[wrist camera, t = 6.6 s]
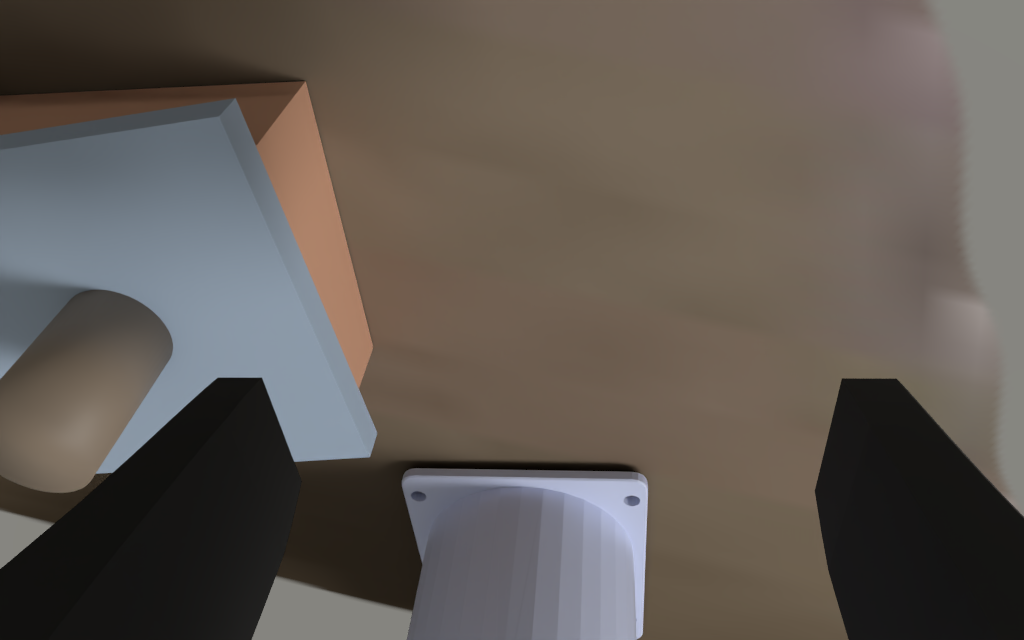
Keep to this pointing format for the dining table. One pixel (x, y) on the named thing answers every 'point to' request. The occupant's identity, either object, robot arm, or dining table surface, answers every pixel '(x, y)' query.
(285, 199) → the orange open box
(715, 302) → the dining table surface
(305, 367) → the lid
